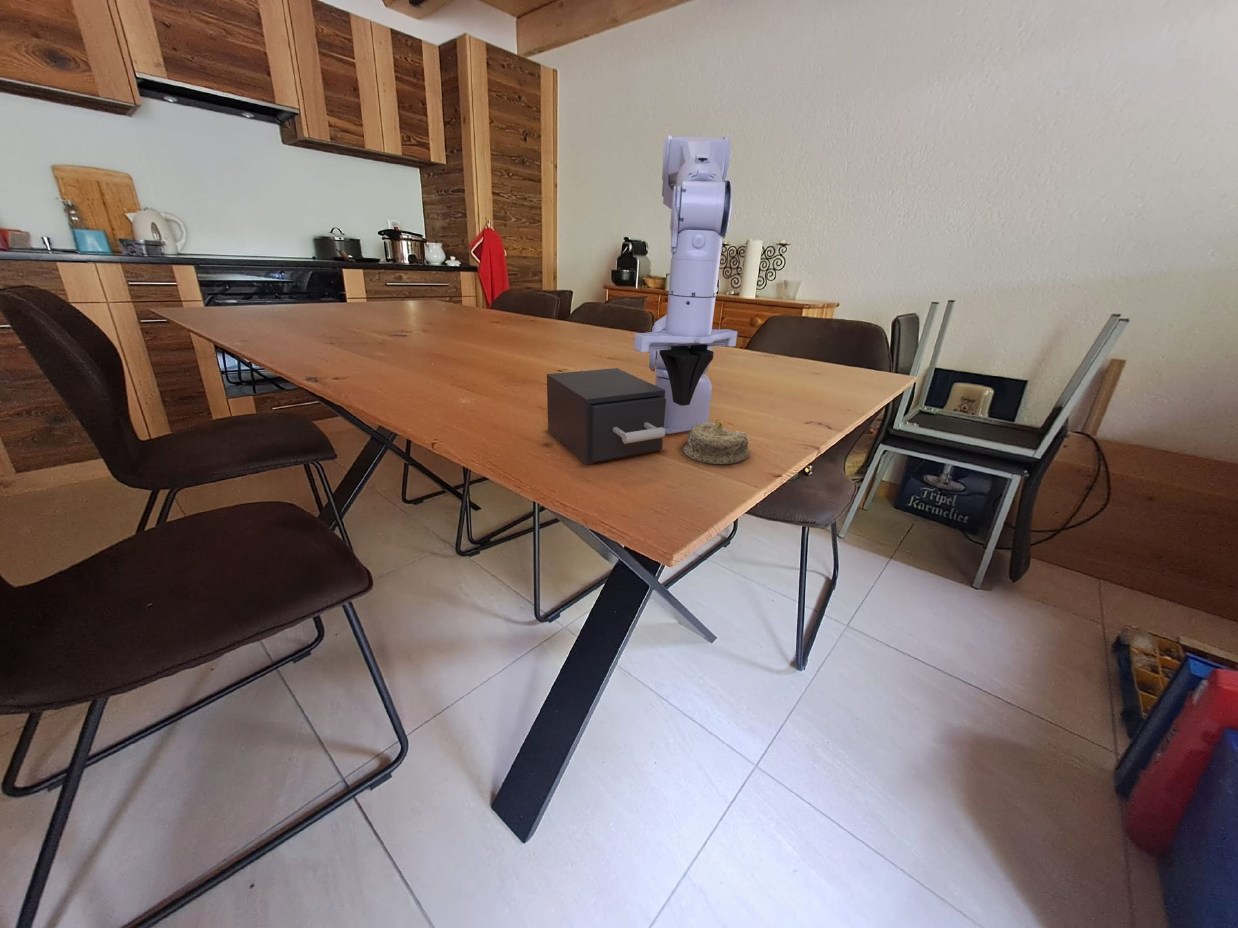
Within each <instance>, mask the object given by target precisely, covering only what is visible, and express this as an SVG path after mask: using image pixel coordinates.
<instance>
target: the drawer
mask: <svg viewBox="0 0 1238 928" xmlns="http://www.w3.org/2000/svg"><path fill="white" fill-rule="evenodd" d="M665 406H666V399H665V398H663V397H655V398H652V397H647V398H639V399H630V400H622V401H614V402H605V403H597V404H591V405H590V460H592V461H593V462H595V461H601V460H606V459H612V458H617V457H623V456H628V455H633V454H639V453H644V452H650V451H655V450H660V451H661V450H663V440H664V437H666V434H665V429H664V418H665Z"/></svg>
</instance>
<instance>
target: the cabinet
mask: <svg viewBox="0 0 1238 928" xmlns="http://www.w3.org/2000/svg"><path fill="white" fill-rule="evenodd" d="M647 397H652V398H655V397H663V398H665V390H664V389H662V388H659V387H657V386H655V384H653V383H651V382H648V381H646V380H644V379H642V378H639V377H638V376H635V375H633V374H631V373H629V372H627V371H625V370H623V369H620V368H618V367H613V368H602V369H591V370H579V371H578V370H577V371H566V372H557V373H556V372H555V373H547V374H546V398H547V399H546V400H547V401H546V402H547V432H548V433H549V434H550V435H551V436H552V437H554V438H555V439H556V440H557V441H558V442H559V443H560V444H562V446H563V447H565V448H566V449H567V450H568V451H569V452H570V453H571V454H573V456H575V457H576V458H577V459H578V460H579V461H580V462H581V463H582V464H584V465H585V466H588V465H593V464H594V465H595V464H599V463H605V462H609V461H615V460H620V459H621V460H622V459H626V458H631V457H637V456H642V455H648V454H655V453H658V452H661V450H655V451H650V452H644V453H639V454H633V455H628V456H623V457H617V458H612V459H606V460H601V461H595V462H593V461H592V460H590V405H591V404H597V403H605V402H614V401H622V400H630V399H639V398H647Z"/></svg>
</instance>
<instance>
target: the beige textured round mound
mask: <svg viewBox="0 0 1238 928" xmlns="http://www.w3.org/2000/svg"><path fill="white" fill-rule="evenodd" d="M686 442H687V443H686V444H685V445H684V447H683V452H684V454H685V455H686V456H687V457H688V458H690V459H692V460H694V461H696V462H701V463H707V464H713V465H729V464H737V463H739V462H742V461H745V460H746V459H747V458H749V456H750V449H749V439H748V434H746V432H745V431H739V430H736V431H733V432H729V431H728V430H727V429H725V428H724V425H723V423H722V420H720V419H716V420H715V422H713V421H708V423H707V422H704V423H701V424H700V423H698V424H696V425H695V426H692V428H691V429H690V431H688V434H687V439H686Z"/></svg>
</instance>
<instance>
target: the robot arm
mask: <svg viewBox="0 0 1238 928" xmlns="http://www.w3.org/2000/svg"><path fill="white" fill-rule="evenodd" d="M731 150H732V145H731V141H730V139H729V136H723V137H703V136H672V134H668V135H667V137H666V138H665V139H664V142H663V157H662V174H661V180H662V185H661V187H662V188H661V196H662V197H663V198H662V204H663V205H665V206H666V207H667V208H669V209H670V223H669V228H670V240H671V241H670V253H671V259H670V269H669V281H668V294H667V307H666V314H665V315H663V316H662V317H661V318H659V319H657V320H656V321H655V322H654V323H653V324H654V325H652V329H651V331H649V332H641V333H634V336H633V338H634V339H633V350H634V351H636V352H639V353H642V354H643V353H644V354H645V353H646V354H647V353H649V359H648V368H649V369H650V371H651V372H653V373H655V383H654V385H655V386H657V387H659V388H662V389H664V390H665V399H666V406H665V418H664V429H665V435H671V434H678V433H683V432H690V429H691V428H692V426H695V425H696V424H698V423H700V424H701V423H704V422H707V423H709V421H710V420H709V419H710V410H711V403H712V396H713V388H712V387H713V386H712V383H711V380H710V378H709V377H708V376H707V375H706V373H707V372H708V371H709V368H710V365H711V364H710V363H711V362H712V361H713V360H714V355H715V354H714V353H715V352H714V351H713V350H712V348H713V347H729V348H732V347H736V344H737V338H738V331H737V330H733V329H725V328H724V329H713V323H714V314H715V306H716V297H717V290H718V289H717V288H718V281H719V272H720V263H721V254H722V248H723V247H722V246H723V240H724V239H725V238H726V236H727V232H728V230H729V226H730V222H731V217H732V216H731V215H732V207H733V185H732V180H731V179H727V178H728V173H729V168H730V162H731V161H730V159H731Z"/></svg>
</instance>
